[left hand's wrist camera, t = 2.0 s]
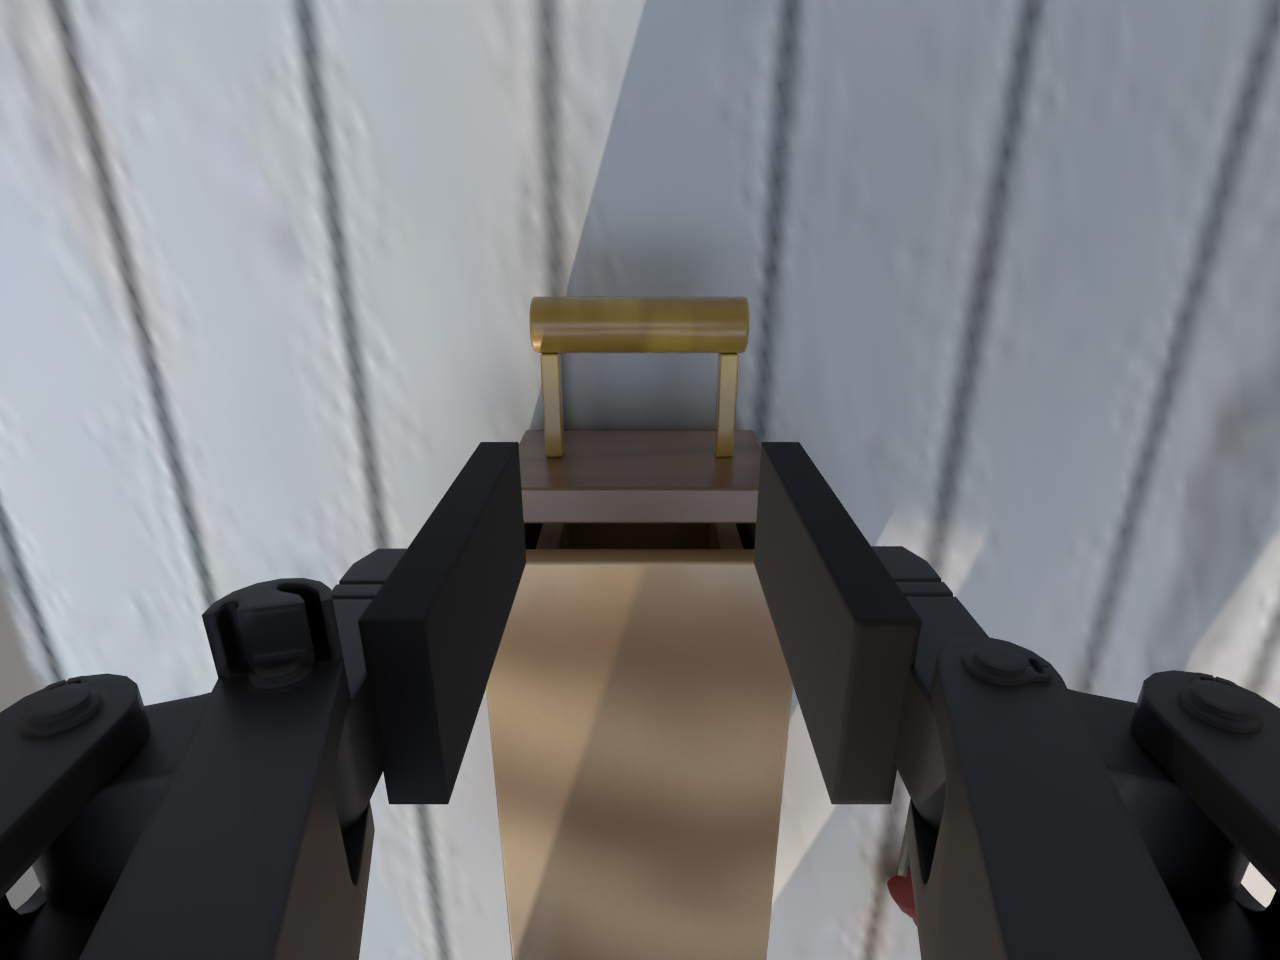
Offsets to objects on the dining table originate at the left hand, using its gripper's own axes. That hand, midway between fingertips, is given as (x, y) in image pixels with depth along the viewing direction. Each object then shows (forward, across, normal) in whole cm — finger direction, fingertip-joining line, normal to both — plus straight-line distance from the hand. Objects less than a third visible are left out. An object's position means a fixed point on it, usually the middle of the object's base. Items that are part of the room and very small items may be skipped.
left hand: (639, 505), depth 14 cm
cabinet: (+13, 0, +14) cm, 19 cm away
